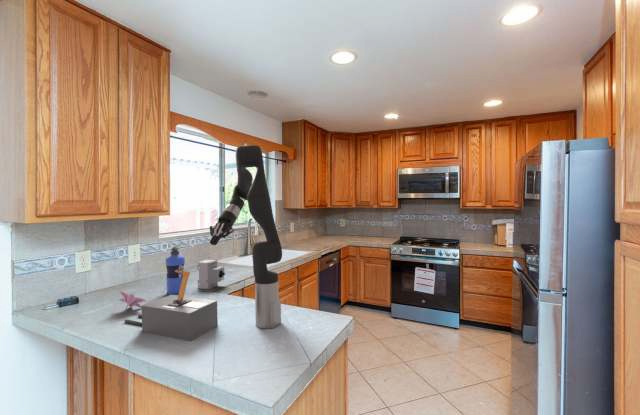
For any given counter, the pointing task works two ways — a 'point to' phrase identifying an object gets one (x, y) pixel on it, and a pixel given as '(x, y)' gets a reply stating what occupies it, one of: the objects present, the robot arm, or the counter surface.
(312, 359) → the counter surface
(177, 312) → the box
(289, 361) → the counter surface
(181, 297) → the breaker lever
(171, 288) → the water bottle
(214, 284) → the circuit breaker
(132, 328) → the counter surface
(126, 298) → the lily
